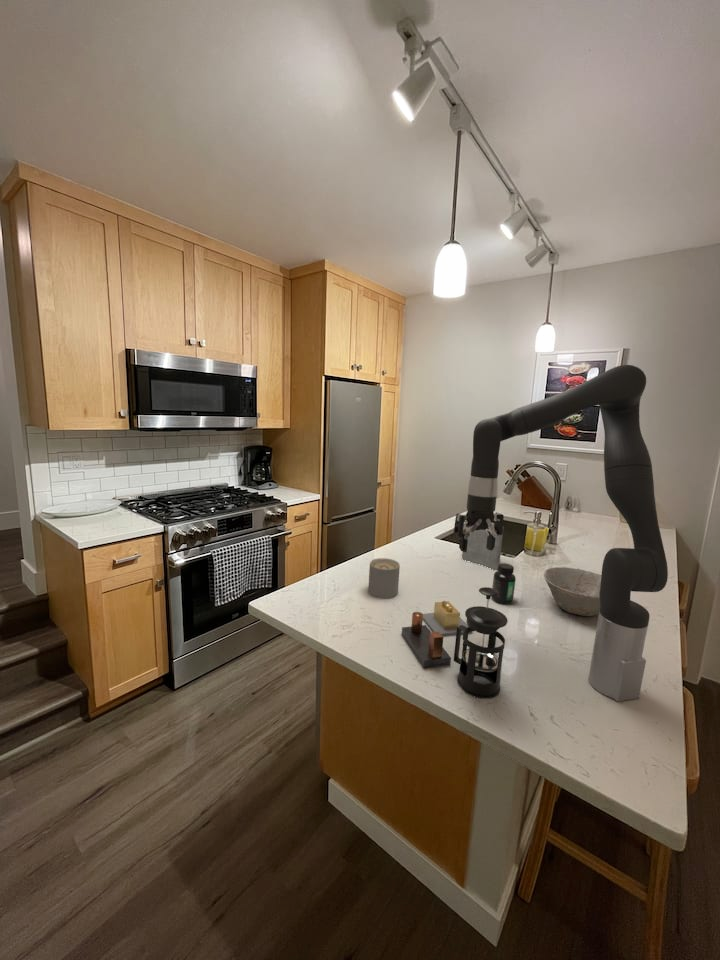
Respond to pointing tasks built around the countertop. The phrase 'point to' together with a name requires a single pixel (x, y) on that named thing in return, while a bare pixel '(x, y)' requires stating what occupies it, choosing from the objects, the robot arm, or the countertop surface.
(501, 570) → the supplement bottle
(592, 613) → the ceramic bowl
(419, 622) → the hand plane
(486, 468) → the robot arm
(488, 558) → the notched spreader
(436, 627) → the rubber mat
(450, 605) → the lever cap
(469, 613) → the french press
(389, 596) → the coffee mug
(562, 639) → the countertop surface
